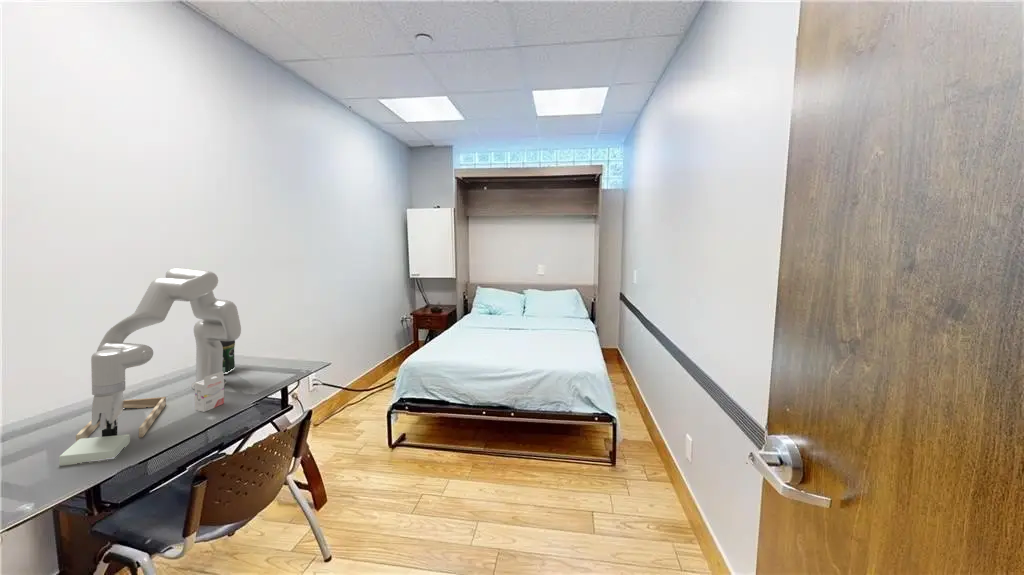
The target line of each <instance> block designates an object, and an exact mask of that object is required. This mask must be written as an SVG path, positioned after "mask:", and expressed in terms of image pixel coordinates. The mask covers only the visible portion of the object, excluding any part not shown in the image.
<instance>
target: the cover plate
mask: <svg viewBox="0 0 1024 575" xmlns="http://www.w3.org/2000/svg"><path fill="white" fill-rule="evenodd" d="M130 443H131V434H130V433H129V434H117V435H116V436H105V437H102V436H97V437H87V438H83V439H79V440H78V441H77V442H76V441H75V442H74V443H73V444H72V445H71V446H70V447H68V448H67V449H66V450H64V452H63V453H61V454H60V455H59V457H58V459H59V460H58V462H59V464H58V465H59V466H70V465H77V463H80V464H83V463H82V462H86V461H91V460H99V459H106V458H112V457H115V456H116V455H117V454H118V453H119V452H120V451H121V450H122V449H123V448H124V447H125V448H127V446H128V445H130ZM125 448H124V449H125Z"/></svg>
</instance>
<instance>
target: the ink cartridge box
mask: <svg viewBox="0 0 1024 575" xmlns="http://www.w3.org/2000/svg"><path fill="white" fill-rule="evenodd" d="M213 376H214V377H213ZM224 377H225V375H224V374H223V371H222V372H219V373H216V374H213V375H210V376H207V377H204V380H202V381H199V382H196V381H195V382H196V383H195V389H194V410H195V411H199V412H203V413H205V412H208V411H210V410H212V409H214V408H217V407H219V406H221V405H223V404H224V402H225V401H224V400H225V385H224V379H225V378H224Z"/></svg>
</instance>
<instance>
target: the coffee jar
mask: <svg viewBox="0 0 1024 575" xmlns="http://www.w3.org/2000/svg"><path fill="white" fill-rule="evenodd" d="M220 342H221V344H222V346H223V366H222V371H223V373H225V372H228V371H230V370H231V369H233V368H234V367H235V368H236V363H235V362H236V361H235V346H236V340H234V341H220Z"/></svg>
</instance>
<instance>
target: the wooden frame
mask: <svg viewBox="0 0 1024 575" xmlns="http://www.w3.org/2000/svg"><path fill="white" fill-rule="evenodd" d="M123 402H124V405H123V408H137V409H145V408H146V407H148V408H153V409H152V411H151V412H150V413H149V414H148V415H147V417H146V418H145V419H144V421H143V422H142V423H141V425H140V426H139V427H138V438H144V436H145V435H146V434H147V432H148V430H149V429H150V428H151V426H152V425H153V424H154V422H156V420H157V418H158V417H159V415H160V414H161V412H162V411H163V410H164V408H165V406H166V405H167V396H159V397H148V398H147V397H146V398H135V399H133V398H132V399H123ZM146 409H147V408H146ZM91 421H92V419H91V420H90V421H89V422H88V423H86V424H85V426H84V427H82V429H81V430H80V431H78V433H77V434H75V442H77V441H78V440H79V439H83V438H89V437H90V436H91V435H92V434H93V432H95V430H96V429H98V427H100V425H99V424H100V421H99V422H98V423H97V424H96V425H92V424H91Z"/></svg>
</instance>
